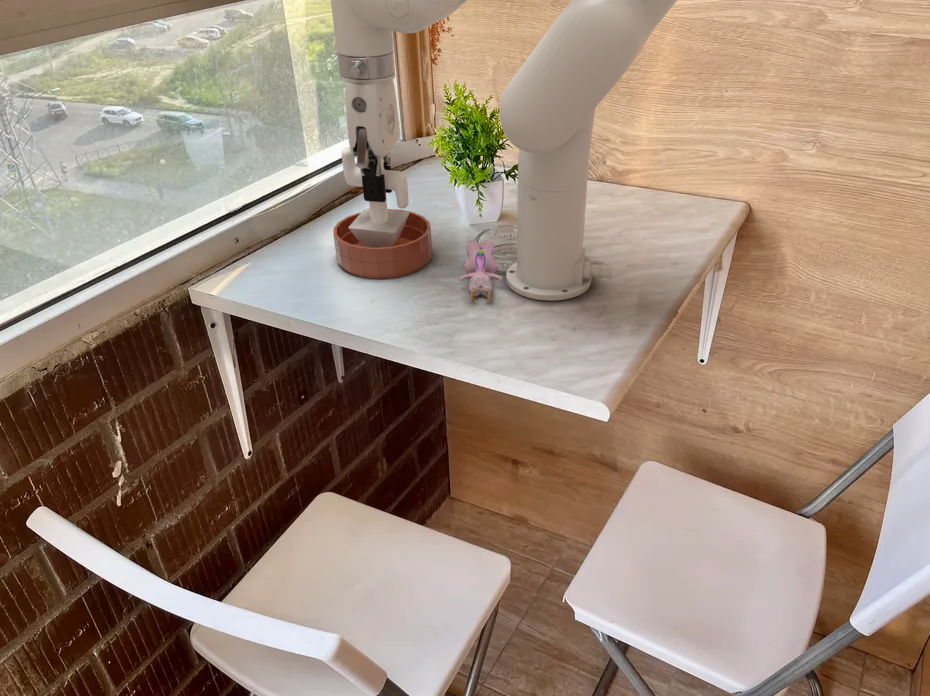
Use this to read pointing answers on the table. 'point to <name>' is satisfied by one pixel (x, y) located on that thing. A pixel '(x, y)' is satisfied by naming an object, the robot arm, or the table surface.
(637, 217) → the table surface
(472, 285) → the rabbit figure
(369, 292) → the table surface
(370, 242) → the figurine
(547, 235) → the robot arm
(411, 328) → the table surface
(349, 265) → the bowl
